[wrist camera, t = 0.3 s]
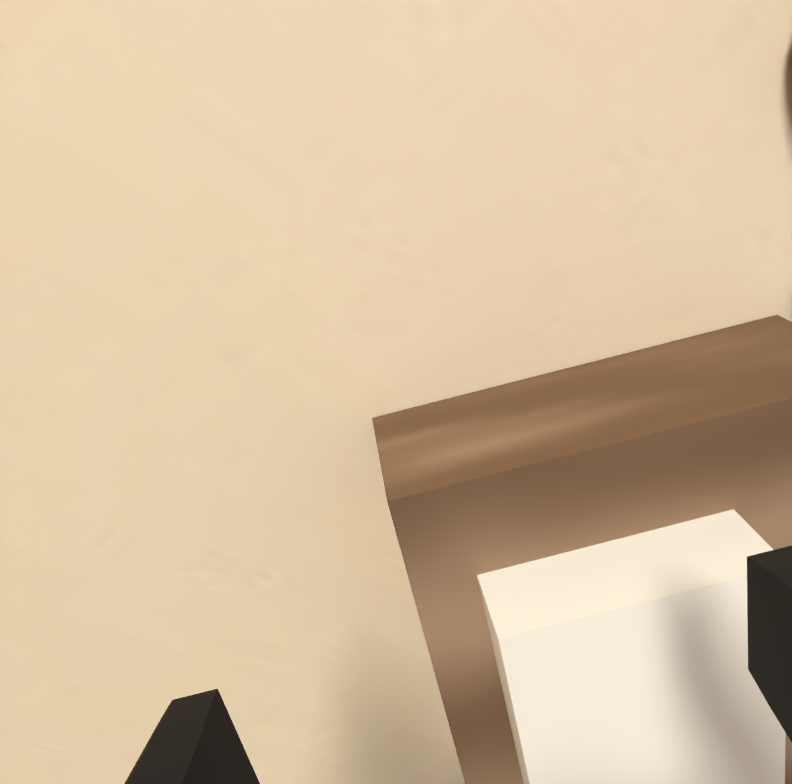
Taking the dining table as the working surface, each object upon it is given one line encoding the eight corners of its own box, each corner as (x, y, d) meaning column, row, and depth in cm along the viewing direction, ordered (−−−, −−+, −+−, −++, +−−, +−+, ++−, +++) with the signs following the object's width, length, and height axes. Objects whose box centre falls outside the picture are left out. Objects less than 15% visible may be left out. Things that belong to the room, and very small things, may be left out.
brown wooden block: (775, 689, 24) (856, 796, 21) (467, 769, 24) (495, 890, 21) (777, 314, 19) (890, 372, 15) (372, 418, 18) (387, 501, 15)
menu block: (740, 770, 20) (784, 840, 18) (532, 824, 20) (555, 900, 18) (733, 509, 16) (788, 564, 14) (477, 575, 16) (498, 639, 14)
